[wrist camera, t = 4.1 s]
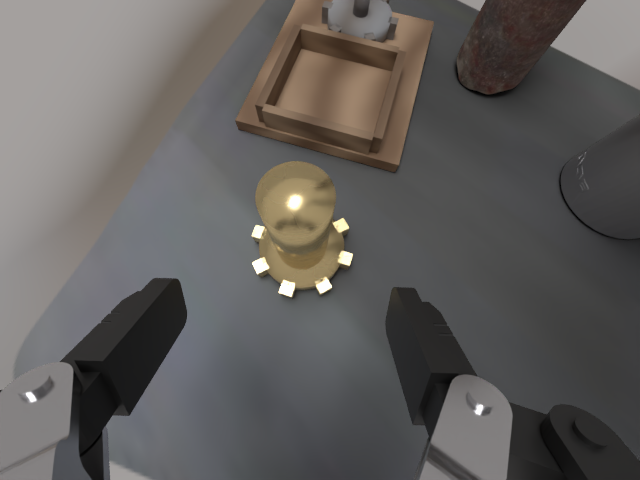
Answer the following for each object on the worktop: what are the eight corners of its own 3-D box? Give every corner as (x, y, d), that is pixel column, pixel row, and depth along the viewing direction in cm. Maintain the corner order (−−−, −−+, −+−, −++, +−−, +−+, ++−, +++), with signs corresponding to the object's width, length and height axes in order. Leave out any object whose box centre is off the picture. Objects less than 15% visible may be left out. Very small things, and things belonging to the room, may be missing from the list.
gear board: (429, 32, 31) (449, -17, 27) (394, 172, 25) (413, 138, 21) (301, 2, 32) (299, -51, 28) (238, 129, 26) (223, 88, 22)
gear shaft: (360, 221, 24) (392, 151, 14) (335, 312, 21) (354, 300, 12) (273, 196, 24) (249, 112, 15) (239, 281, 22) (182, 247, 12)
